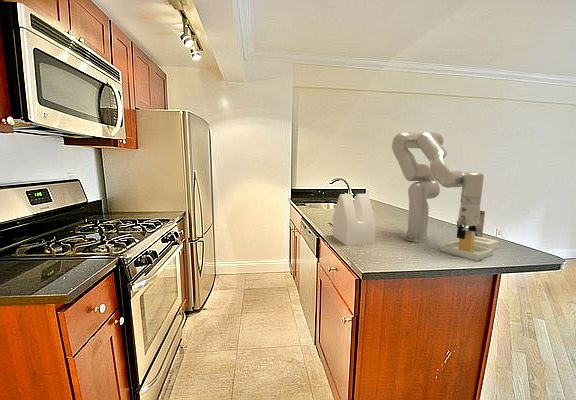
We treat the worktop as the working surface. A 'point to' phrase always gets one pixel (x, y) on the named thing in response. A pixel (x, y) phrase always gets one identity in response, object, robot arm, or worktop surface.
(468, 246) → the fuse
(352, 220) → the white notched block
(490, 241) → the beige square stand
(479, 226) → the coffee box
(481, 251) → the parts tray
